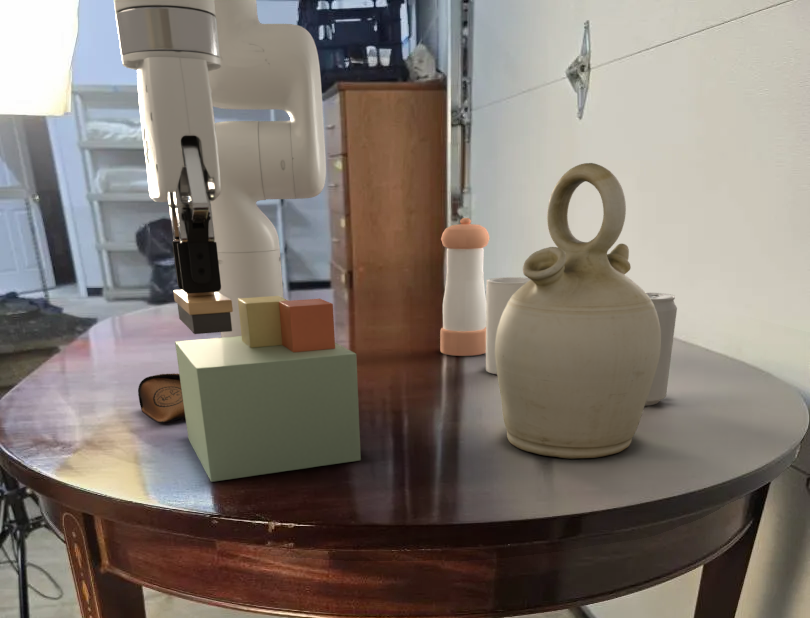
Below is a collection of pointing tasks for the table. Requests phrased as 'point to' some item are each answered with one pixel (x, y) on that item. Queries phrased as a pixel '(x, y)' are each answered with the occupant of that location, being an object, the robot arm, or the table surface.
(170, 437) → the table surface
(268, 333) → the mustard yellow block
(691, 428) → the table surface
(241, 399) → the green box
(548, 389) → the jug
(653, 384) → the beverage can
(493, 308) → the mug
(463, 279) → the salt shaker
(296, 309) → the terracotta block
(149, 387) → the sunglasses case
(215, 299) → the brush
